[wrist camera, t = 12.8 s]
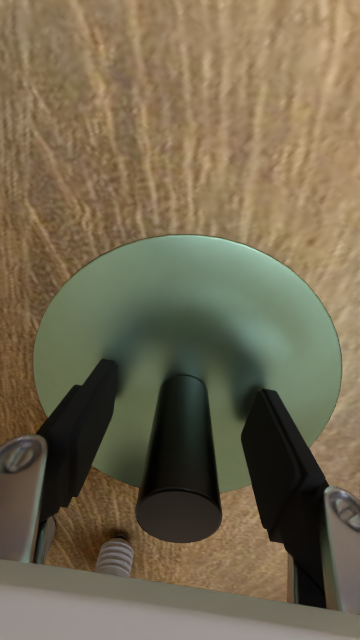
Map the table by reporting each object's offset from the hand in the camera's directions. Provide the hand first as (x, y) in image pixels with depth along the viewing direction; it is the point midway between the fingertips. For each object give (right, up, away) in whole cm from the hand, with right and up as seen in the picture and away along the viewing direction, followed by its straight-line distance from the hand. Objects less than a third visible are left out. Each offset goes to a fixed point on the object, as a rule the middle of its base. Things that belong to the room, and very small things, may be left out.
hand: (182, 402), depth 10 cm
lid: (0, 0, +1) cm, 1 cm away
